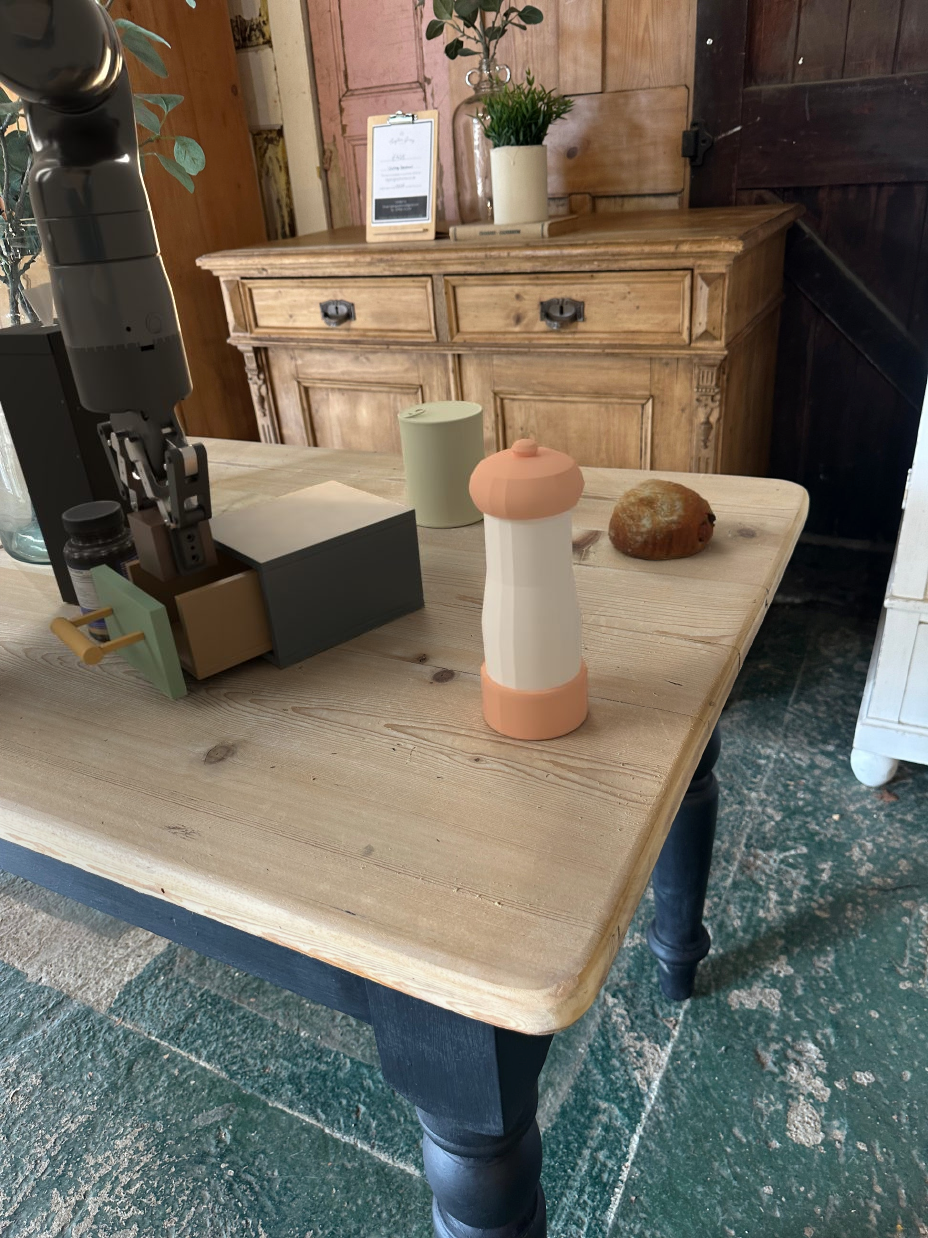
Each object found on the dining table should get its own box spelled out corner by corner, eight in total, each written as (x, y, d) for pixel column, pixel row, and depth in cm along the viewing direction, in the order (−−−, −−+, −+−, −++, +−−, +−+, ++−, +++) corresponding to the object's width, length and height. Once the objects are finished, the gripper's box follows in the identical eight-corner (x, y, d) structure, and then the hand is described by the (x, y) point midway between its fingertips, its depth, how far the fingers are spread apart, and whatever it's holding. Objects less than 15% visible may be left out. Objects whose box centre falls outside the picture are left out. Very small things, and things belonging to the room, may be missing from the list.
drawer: (112, 727, 60) (84, 635, 57) (57, 671, 68) (30, 587, 65) (327, 634, 70) (314, 552, 67) (258, 595, 78) (243, 519, 75)
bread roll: (626, 554, 92) (593, 489, 89) (719, 515, 88) (688, 446, 85) (625, 594, 83) (589, 524, 80) (728, 553, 79) (694, 478, 77)
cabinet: (281, 669, 68) (260, 563, 64) (208, 620, 76) (186, 524, 72) (425, 606, 76) (415, 508, 72) (344, 568, 85) (331, 479, 80)
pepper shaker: (487, 682, 64) (470, 426, 55) (587, 682, 63) (585, 422, 54) (478, 740, 57) (456, 460, 49) (588, 741, 56) (587, 456, 48)
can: (396, 509, 99) (385, 404, 93) (470, 494, 102) (463, 391, 96) (424, 534, 91) (413, 422, 86) (503, 517, 94) (497, 407, 89)
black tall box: (61, 603, 82) (-37, 291, 69) (120, 570, 88) (39, 278, 75) (125, 613, 79) (34, 288, 66) (181, 578, 85) (108, 275, 72)
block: (164, 583, 63) (150, 527, 61) (140, 567, 66) (126, 513, 64) (218, 564, 66) (207, 510, 64) (193, 550, 69) (181, 497, 67)
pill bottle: (148, 605, 80) (118, 492, 75) (170, 627, 76) (140, 508, 71) (80, 627, 77) (44, 510, 72) (99, 651, 73) (62, 529, 68)
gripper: (32, 333, 61) (96, 555, 69) (107, 350, 51) (172, 607, 59) (134, 317, 65) (183, 528, 73) (222, 330, 55) (268, 572, 63)
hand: (178, 562), depth 66 cm, fingers closed on block, 4 cm apart
